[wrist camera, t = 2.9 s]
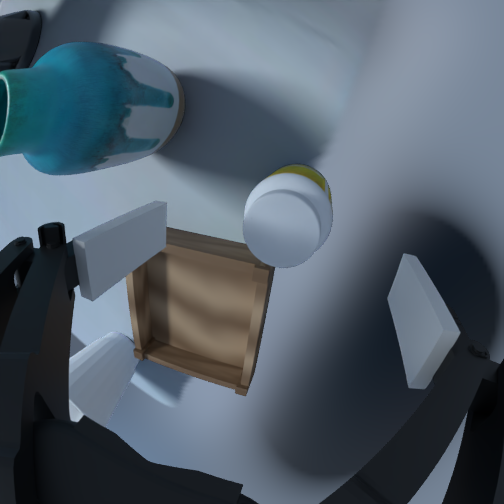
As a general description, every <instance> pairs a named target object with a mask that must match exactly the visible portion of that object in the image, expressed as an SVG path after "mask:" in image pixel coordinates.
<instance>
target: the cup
mask: <svg viewBox="0 0 504 504" xmlns="http://www.w3.org/2000/svg"><path fill="white" fill-rule="evenodd" d="M134 349H135V344H134V343H133V342H132V341H131V340H130V339H129V338H128V337H126V336H125V335H123V334H121V333H119V332H115V331H112V332H110V333H108V334H107V335H106V336H104V337H103V338H102V337H101V338H98V339H97V340H95V341H94V342H93V343H91V344H90V345H88V346H87V347H85V348H84V349H82V350H81V351H80V352H78V353H77V354H75V355H74V356H72V357H71V358H69V413H70V418H71V421H75V422H78V421H79V420H80V419H81V418H82V416H83V415H85V416H87V417H89V418H90V419H92V420H93V421H95V422H97V423H98V424H100V425H102V426H103V427H105V428H106V426H107V424H108V422H109V420H110V418H111V416H112V414H113V412H114V410H115V408H116V407H117V405H118V403H119V401H120V399H121V397H122V395H123V393H124V391H125V389H126V387H127V386H128V384H129V382H130V380H131V378H132V376H133V374H134V372H135V367H136V365H137V364H138V362H139V360H140V359H137V358H135V357H134V352H133V350H134Z"/></svg>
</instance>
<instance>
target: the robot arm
mask: <svg viewBox="0 0 504 504" xmlns="http://www.w3.org/2000/svg"><path fill="white" fill-rule="evenodd" d="M40 32H41V16H40V14H39V13H38V12H37V11H31V10H23V11H19V12H14V13H10V14H6V15H2V16H0V72H1V71H4V70H13V69H25V68H28V66H29V64H30V62H31V60H32V58H33V55H34V53H35V50H36V47H37V44H38V41H39V37H40ZM166 219H167V203H166V202H160V201H154V202H152V203H149V204H147V205H145V206H142V207H140V208H137V209H135V210H133V211H131V212H128V213H126V214H124V215H121V216H119V217H117V218H115V219H113V220H110V221H108V222H106V223H104V224H102V225H100V226H97V227H95V228H93V229H91V230H89V231H87V232H85V233H83V234H81V235H79V236H77V237H75V238H73V240H72V241H71V242H69V243H67V244H66V236H65V227H64V224H63V223H60V222H53V223H47V224H44V225H42V226H40V227H39V228H38V235H39V241H40V248H39V249H38V248H33V242H32V238H30V237H19V238H17V239H15V240H13V241H12V242H10V243H9V244H8V245H7V246H6V247H5V248H4V249H3V250H1V251H0V504H258V503H257V502H255V501H254V500H252V499H251V498H249V497H247V496H245V495H243V494H241V490H242V487H243V484H239V483H235V482H232V481H228V480H225V479H222V478H218V477H215V476H212V475H209V474H206V473H203V472H200V471H196V470H189V469H183V468H177V467H171V466H166V465H161V464H156V463H152V462H150V461H148V460H146V459H145V458H143V457H142V456H141V455H140V454H139V453H137V452H136V451H135V450H134V449H133V448H131V447H130V446H129V445H128V444H127V443H126V442H124V441H123V440H122V439H121V438H120V437H119V436H118V435H117V434H115V433H114V432H112V431H110V430H109V429H107V428H105V427H103V426H102V425H100V424H98V423H97V422H95V421H93V420H92V419H90V418H89V417H87V416H85V415H83V416H82V418H81V419H80V420H79V421H78V422H75V421H71V418H70V413H69V356H70V340H71V328H72V317H73V309H74V301H75V292H74V288H75V287H76V286H78V285H79V286H80V292H81V296H82V297H84V298H87V299H89V300H91V301H94V300H95V299H97V298H98V297H99V296H101V295H102V294H103V293H104V292H106V291H107V290H108V289H110V288H111V287H112V286H114V285H115V284H116V283H118V282H119V281H120V280H122V279H123V278H124V277H126V276H127V275H128V274H130V273H131V272H132V271H134V270H135V269H136V268H138V267H139V266H140V265H142V264H143V263H144V262H146V261H147V260H149V259H150V258H151V257H153V256H154V255H156V254H157V253H158V252H160V251H161V250H163V249H164V248H165V247H166ZM14 274H15V276H16V280H17V286H15V283H14ZM388 302H389V306H390V310H391V313H392V317H393V321H394V325H395V329H396V332H397V337H398V340H399V345H400V349H401V353H402V358H403V363H404V367H405V372H406V377H407V382H408V387H409V388H417V389H425V388H426V387H427V386H428V384H429V383H430V381H431V380H432V378H433V380H434V384H435V386H434V388H433V389H432V390H431V392H430V393H429V394H428V396H427V397H426V398H425V400H424V401H423V402H422V404H421V405H420V406H419V407H418V409H417V410H416V411H415V412H414V414H413V415H412V416H411V417H410V418H409V420H408V421H407V422H406V423H405V424H404V426H403V427H402V428H401V429H400V430H399V431H398V432H397V433H396V434H395V436H394V437H393V438H392V439H391V440H390V441H389V442H388V443H387V444H386V445H385V446H384V447H383V448H382V449H381V450H380V451H379V452H378V453H377V454H376V455H375V456H374V457H373V458H372V459H371V460H370V461H369V462H368V463H367V464H366V465H365V466H364V467H363V468H362V469H361V470H359V471H358V472H357V473H356V474H355V475H354V476H353V477H352V478H350V479H349V480H348V481H347V482H346V483H345V484H343V485H342V486H341V487H340V488H339V489H337V490H336V491H335V492H334V493H332V494H331V495H330V496H329V497H327V498H326V499H325V500H323V501H322V502H321V503H320V504H407V503H408V502H409V501H410V500H411V499H412V497H413V496H414V495H415V494H416V492H417V491H418V490H419V488H420V487H421V486H422V484H423V483H424V482H425V480H426V479H427V477H428V476H429V475H430V473H431V472H432V471H433V469H434V468H435V466H436V464H437V463H438V462H439V460H440V459H441V457H442V455H443V454H444V452H445V451H446V449H447V447H448V446H449V444H450V442H451V441H452V439H453V437H454V435H455V434H456V432H457V430H458V428H459V426H460V425H461V422H462V421H463V419H464V417H465V415H466V413H467V411H468V413H467V418H466V423H465V428H464V433H463V438H462V442H461V446H460V450H459V454H458V457H457V461H456V464H455V468H454V471H453V475H452V477H451V480H450V483H449V486H448V489H447V492H446V494H445V497H444V500H443V502H442V504H504V359H503V361H502V362H501V364H498V363H496V362H493V361H491V360H490V355H489V352H488V351H487V349H486V348H485V347H484V346H483V345H482V344H480V343H479V342H477V341H475V340H470V339H469V337H468V335H467V333H466V331H465V329H464V328H463V326H462V325H461V322H460V320H458V317H457V315H456V313H455V311H454V310H453V309H452V308H451V307H450V306H448V304H445V303H444V301H443V299H442V298H441V296H440V294H439V293H438V291H437V289H436V287H435V286H434V284H433V282H432V281H431V279H430V277H429V276H428V274H427V273H426V271H425V269H424V268H423V266H422V265H421V263H420V262H419V260H418V258H417V257H416V256H413V255H409V254H405V253H404V254H403V256H402V259H401V262H400V265H399V268H398V271H397V274H396V277H395V279H394V282H393V285H392V288H391V290H390V293H389V296H388Z"/></svg>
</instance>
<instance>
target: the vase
mask: <svg viewBox="0 0 504 504" xmlns="http://www.w3.org/2000/svg"><path fill="white" fill-rule="evenodd" d="M184 110H185V97H184V92H183V88H182V86H181V83H180V81H179V80H178V78H177V77H176V75H175V74H174V73H173V72H172V71H171V70H170V69H169V68H168V67H166V66H165V65H163V64H162V63H160V62H158V61H157V60H155V59H152V58H150V57H148V56H146V55H143V54H140V53H138V52H135V51H132V50H128V49H125V48H121V47H117V46H113V45H109V44H103V43H96V42H71V43H66V44H63V45H60V46H57V47H55V48H53V49H51V50H50V51H48V52H47V53H46V54H44V55H43V56H42V57H41V58H40V59H39V60H38V61H37V62H36V63H35V65H34V66H33V67H32V68H25V69H13V70H4V71H1V72H0V157H1V156H6V155H12V154H21V153H23V155H24V157H25V159H26V160H27V161H28V163H29V164H30V165H31V166H33V167H34V168H35V169H36V170H38V171H40V172H42V173H45V174H49V175H72V174H80V173H86V172H91V171H96V170H100V169H105V168H109V167H114V166H118V165H122V164H126V163H129V162H132V161H136V160H138V159H141V158H144V157H146V156H149V155H151V154H153V153H155V152H156V151H158V150H160V149H161V148H162V147H164V146H165V145H166V144H167V143H168V142H169V141H170V140H171V139H172V138H173V136H174V135H175V133H176V132H177V130H178V128H179V126H180V124H181V122H182V119H183V115H184Z"/></svg>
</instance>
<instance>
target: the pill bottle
mask: <svg viewBox="0 0 504 504" xmlns="http://www.w3.org/2000/svg"><path fill="white" fill-rule="evenodd" d="M332 221H333V211H332V201H331V192H330V188H329V185H328V183H327V181H326V180H325V178H324V177H323V175H322V174H321V173H320V172H319V171H317V170H316V169H314V168H312V167H310V166H308V165H304V164H290V165H287V166H284V167H281V168H280V169H278V170H276V171H275V172H274V173H272V174H271V175H270V176H268V177H267V178H265V179H264V180H263V181H261V182H260V183H259V184H258V185H257V186H256V187H255V188H254V189H253V190H252V192H251V193H250V195H249V197H248V199H247V202H246V205H245V211H244V221H243V235H244V239H245V242H246V244H247V246H248V248H249V249H250V251H251V252H252V253H253V255H254V256H255V257H257V258H258V259H259V260H261V261H262V262H264V263H265V264H268V265H270V266H273V267H279V268H288V267H294V266H297V265H299V264H301V263H303V262H305V261H306V260H307V259H309V258H310V257H311V256H312V255H313V253H314V252H315V251H317V250H318V249H319V248H320V247H321V246H322V245H323V244H324V242H325V241H326V239H327V237H328V236H329V233H330V230H331V227H332Z"/></svg>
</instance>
